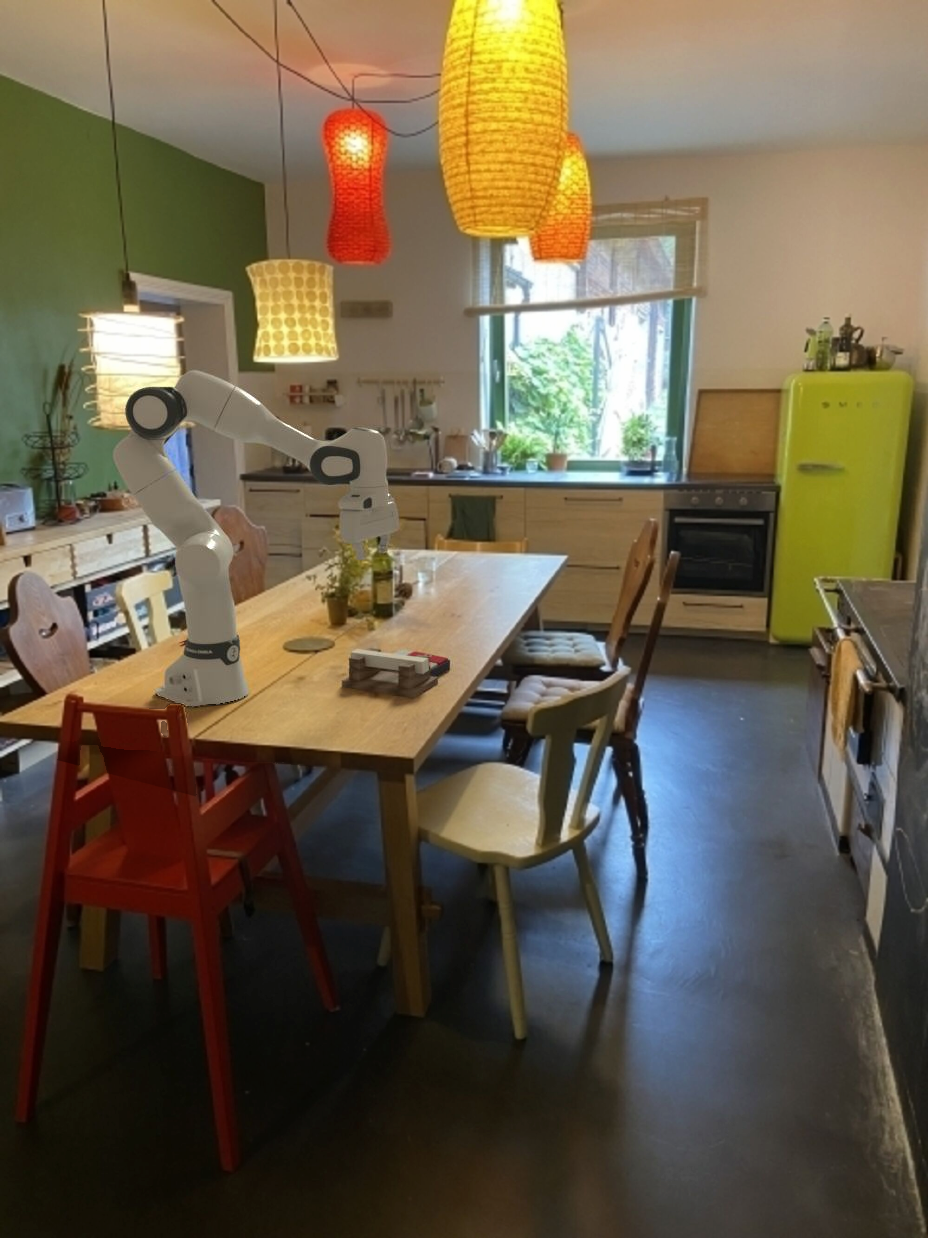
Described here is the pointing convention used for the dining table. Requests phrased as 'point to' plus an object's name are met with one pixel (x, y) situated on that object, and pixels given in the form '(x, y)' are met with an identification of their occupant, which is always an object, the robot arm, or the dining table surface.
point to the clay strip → (391, 660)
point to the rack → (388, 678)
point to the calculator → (436, 662)
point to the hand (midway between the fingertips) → (372, 555)
